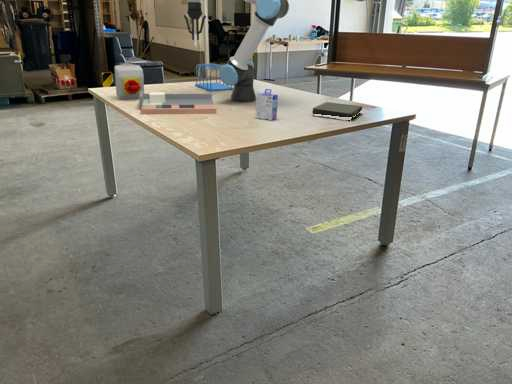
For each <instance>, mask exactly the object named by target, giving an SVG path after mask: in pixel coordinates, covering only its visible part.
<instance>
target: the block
mask: <svg viewBox="0 0 512 384" xmlns="http://www.w3.org/2000/svg"><path fill="white" fill-rule="evenodd" d="M148 94H149V97H150V103H165V94H166V92H164V91H163V92H162V91H157V92H155V91H150V92H149V93H148Z"/></svg>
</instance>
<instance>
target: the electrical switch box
mask: <svg viewBox="0 0 512 384" xmlns="http://www.w3.org/2000/svg"><path fill="white" fill-rule="evenodd" d="M144 76H145V75H144V70H143V67H141V66H140V65H139V64H134V63H133V64H132V63H122V64H117V65H115V66H114V78H115V91H116V92H115V94H116V96H117V98H118V100H120V101H124V100H127V101H128V100H139V95H140V93H141V91H144V92H145V84H144V83H145V81H144V80H145V78H144Z"/></svg>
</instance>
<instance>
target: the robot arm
mask: <svg viewBox="0 0 512 384" xmlns="http://www.w3.org/2000/svg"><path fill="white" fill-rule="evenodd" d="M187 1H188V2H187V12H186V13H185V14H184V15H183V18H184V19H185V23H186V27H187V30H188V33H189V34H191V39H192V41H193V43H194V47H197V46H198V41H199V40H200V34H201V33H203V28H204V24H205V19H207V15H205V14H203V10H202V2H201V1H202V0H187ZM243 1H244V2H247V3H249V4H252V5H255V12H254V14H253V15H254V20H253V21H252V23H251V25H250V27H249V29H248V30H247V32H246V34H245V36H244V38H243V39H242V41H241V43H240V45H239V47H238V48H237V50H236V52H235V54H234V56H231V57H229V59H228V61H227V63H225V64H223V65H221V66H222V67H221V66H220V67H221V69H219V74H218V75H219V80H220V82H222V84H223V83H224V85H226V86H227V85H228V86H229V87H231V86H232V88H233V90H232V92H231V95H230V99H231V100H232V101H233V102H234V101H235V102H240V103H241V102H243V103H247V102H249V103H250V102H256V92H255V88H254V79H255V78H254V76H255V75H254V74H255V70H254V69H255V64H254V61H251V59H252V57H253V55H254V54H255V52H256V50H257V48H259V45H260V43H261V42H262V40H263V39H264V36H265V35H266V33H267V31H268V30H269V28H272V27H274V25H275V24H276V22H277V20H278V19H283V18H284V17H285V16H287V14H288V13H289V9H290V4H289V0H243ZM188 18H190V19H191V26H190V22H189V19H188ZM200 18H201V23H199V20H200ZM195 23H196V24H195ZM199 24H200V27H199ZM195 25H196V26H195ZM195 28H196V29H195Z"/></svg>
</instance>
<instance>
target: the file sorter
mask: <svg viewBox="0 0 512 384" xmlns="http://www.w3.org/2000/svg"><path fill="white" fill-rule="evenodd" d="M198 66H199V69H198ZM222 66H223V65H219V64H215V63H201V64H200V63H199V64H197V65H196V67H195V80H196V83H195V84H194V85H195V86H194V87H196V86H197V88H199V89H202V90H204V89H205V91H207V92H209V91H210V92H209V93H214V92H213V91H215V92H225V91H228V90H229V91H233V88H234V87H233V86H228V85H226V84H224V83H223V82H222V83H221V82H218V71H217V70H220V69H221V67H222ZM201 67H203V68H202V82H201V81H199V83H198V72H199V78H201ZM205 68H207V69H206V78H208V70H209V69H210V71H209V82H208V80H206V82H205V79H204V78H205V76H204V75H205V74H204V73H205V72H204V71H205ZM213 70H215V82H212V71H213Z"/></svg>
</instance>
